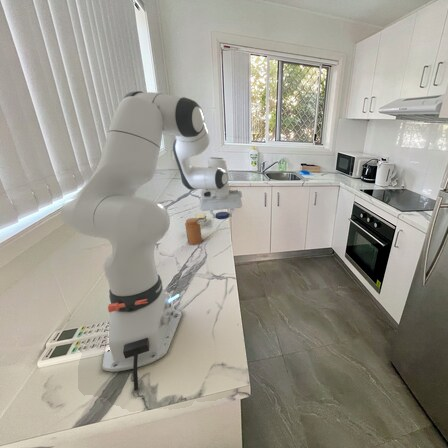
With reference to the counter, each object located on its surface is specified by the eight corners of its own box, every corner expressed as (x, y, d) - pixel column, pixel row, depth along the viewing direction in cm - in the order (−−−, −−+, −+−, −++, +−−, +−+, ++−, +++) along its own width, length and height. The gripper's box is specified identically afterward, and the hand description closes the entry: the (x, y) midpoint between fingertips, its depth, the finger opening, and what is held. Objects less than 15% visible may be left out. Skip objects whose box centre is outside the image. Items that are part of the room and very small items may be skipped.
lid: (218, 214, 128) (217, 211, 127) (230, 214, 128) (230, 211, 127) (214, 219, 122) (213, 216, 121) (227, 219, 122) (226, 216, 121)
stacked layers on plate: (210, 227, 136) (209, 218, 134) (193, 229, 133) (192, 219, 131) (209, 220, 144) (208, 212, 142) (193, 222, 141) (192, 213, 139)
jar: (202, 243, 118) (199, 221, 113) (187, 245, 116) (184, 223, 111) (202, 238, 123) (199, 217, 119) (188, 239, 121) (185, 218, 117)
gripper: (240, 188, 125) (242, 213, 131) (198, 190, 119) (201, 216, 124) (242, 191, 120) (243, 217, 125) (197, 194, 113) (201, 221, 119)
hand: (222, 217), depth 125 cm, fingers closed on lid, 6 cm apart
